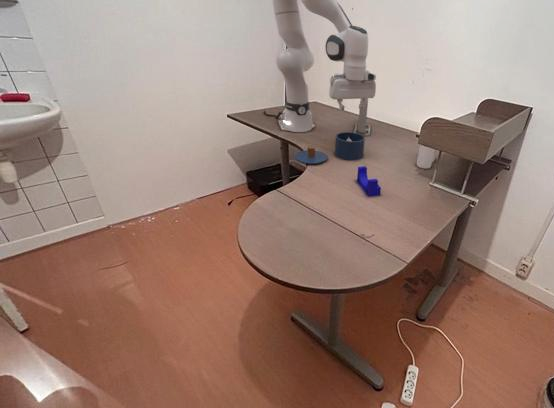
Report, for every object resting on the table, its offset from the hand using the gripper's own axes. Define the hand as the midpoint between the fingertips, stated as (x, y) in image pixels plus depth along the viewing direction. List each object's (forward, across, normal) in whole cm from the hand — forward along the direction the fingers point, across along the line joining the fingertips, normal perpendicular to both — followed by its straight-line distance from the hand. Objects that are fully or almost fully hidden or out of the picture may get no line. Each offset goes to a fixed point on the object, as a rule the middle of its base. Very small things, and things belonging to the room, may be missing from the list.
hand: (351, 109), depth 125 cm
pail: (+20, 0, 0) cm, 20 cm away
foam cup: (+20, +32, -18) cm, 42 cm away
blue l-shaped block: (+20, -9, -31) cm, 38 cm away
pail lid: (+20, -18, +1) cm, 27 cm away
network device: (+21, +25, +28) cm, 43 cm away
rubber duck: (+20, 0, 0) cm, 20 cm away
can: (+20, +25, -24) cm, 40 cm away
